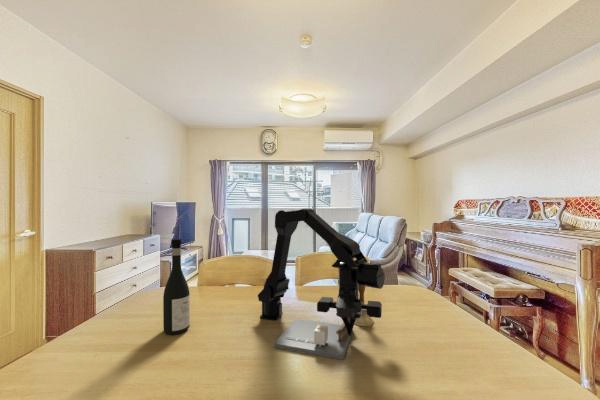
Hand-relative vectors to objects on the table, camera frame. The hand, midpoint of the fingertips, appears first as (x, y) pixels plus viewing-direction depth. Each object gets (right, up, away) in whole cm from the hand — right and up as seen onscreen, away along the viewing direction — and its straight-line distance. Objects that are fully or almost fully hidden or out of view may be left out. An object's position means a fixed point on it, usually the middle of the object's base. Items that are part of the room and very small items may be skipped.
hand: (349, 335), depth 85 cm
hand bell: (+7, -2, +15) cm, 16 cm away
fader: (-9, -1, -3) cm, 10 cm away
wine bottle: (-56, -2, +8) cm, 56 cm away
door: (-2, -1, +3) cm, 3 cm away
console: (-10, -2, +2) cm, 11 cm away
